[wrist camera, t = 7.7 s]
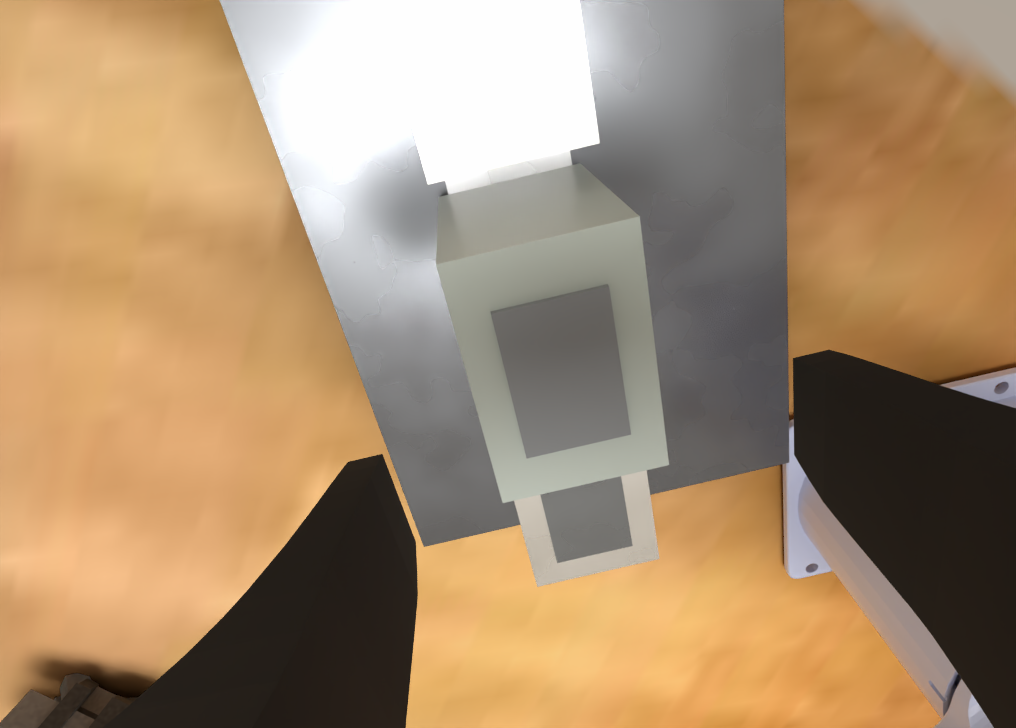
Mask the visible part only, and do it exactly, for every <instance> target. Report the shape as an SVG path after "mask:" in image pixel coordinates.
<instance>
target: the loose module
mask: <svg viewBox="0 0 1016 728" xmlns="http://www.w3.org/2000/svg"><path fill="white" fill-rule="evenodd" d="M436 267H437V270H438V274H439V277H440V281H441V284H442V288H443V292H444V295H445V299H446V302H447V306H448V309H449V313H450V317H451V320H452V324H453V327H454V331H455V334H456V338H457V342H458V345H459V349H460V352H461V356H462V360H463V363H464V367H465V370H466V374H467V377H468V381H469V385H470V388H471V392H472V395H473V399H474V402H475V406H476V410H477V413H478V417H479V420H480V424H481V427H482V431H483V435H484V438H485V442H486V445H487V449H488V452H489V456H490V460H491V463H492V467H493V470H494V474H495V477H496V481H497V485H498V488H499V492H500V495H501V499H502V502H503V503H506V502H510V501H515V500H519V499H523V498H528V497H532V496H536V495H541V494H545V493H549V492H554V491H558V490H563V489H567V488H571V487H576V486H580V485H584V484H589V483H593V482H597V481H602V480H606V479H611V478H615V477H619V476H624V475H628V474H632V473H637V472H641V471H646V470H650V469H654V468H659V467H663V466H667V465H669V460H668V452H667V443H666V435H665V426H664V418H663V409H662V401H661V392H660V384H659V375H658V367H657V358H656V350H655V342H654V333H653V325H652V316H651V308H650V299H649V291H648V282H647V274H646V265H645V257H644V249H643V240H642V232H641V223H640V216H639V215H638V214H636V213H635V212H634V211H633V210H632V209H631V208H630V207H629V206H628V205H626V204H625V203H624V202H623V201H622V200H621V199H620V198H619V197H617V196H616V195H615V194H614V193H613V192H612V191H611V190H610V189H608V188H607V187H606V186H605V185H604V184H603V183H602V182H601V181H600V180H598V179H597V178H596V177H595V176H594V175H593V174H592V173H591V172H589V171H588V170H587V169H586V168H585V167H584V166H583V165H582V164H580V163H579V164H575V165H571V166H566V167H562V168H558V169H554V170H550V171H545V172H541V173H537V174H533V175H529V176H524V177H520V178H516V179H512V180H508V181H503V182H499V183H495V184H491V185H487V186H482V187H478V188H474V189H470V190H466V191H461V192H457V193H453V194H449V195H445V196H441V197H439V200H438V225H437V250H436Z"/></svg>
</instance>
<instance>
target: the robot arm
mask: <svg viewBox="0 0 1016 728" xmlns="http://www.w3.org/2000/svg"><path fill="white" fill-rule="evenodd" d="M998 384H999V385H998ZM997 385H998V386H997ZM996 386H997V387H996ZM793 391H794V419H792V420H790V421H789V463H785V464H783V515H784V567H785V570H786V572H787V574H788V575H789V576H790V577H791V578H795V579H798V578H804V577H808V576H813V575H817V574H821V573H826V572H830V571H833V572H834V573H835V574H836V576H837V577H838V579H839V580H840V581H841V583H842V584H843V585H844V587H845V588H846V589H847V591H848V592H849V594H850V595H851V596H852V598H853V599H854V600H855V602H856V603H857V604H858V606H859V607H860V609H861V610H862V611H863V613H864V614H865V615H866V617H867V618H868V619H869V621H870V622H871V623H872V625H873V626H874V628H875V629H876V630H877V632H878V633H879V634H880V636H881V637H882V638H883V640H884V641H885V643H886V644H887V645H888V647H889V648H890V649H891V651H892V652H893V653H894V655H895V656H896V658H897V659H898V660H899V662H900V663H901V664H902V666H903V667H904V668H905V670H906V671H907V673H908V674H909V675H910V677H911V678H912V679H913V681H914V682H915V683H916V685H917V686H918V687H919V689H920V690H921V692H922V693H923V694H924V696H925V697H926V698H927V700H928V701H929V702H930V704H931V705H932V707H933V708H934V709H935V711H936V712H937V713H938V715H939V716H940V717H941V721H940V722H939V723H938V724H937V725H936V726H935V727H933V728H1016V367H1015V368H1010V369H1006V370H1002V371H997V372H993V373H989V374H985V375H980V376H976V377H972V378H967V379H963V380H959V381H954V382H950V383H946V384H941V385H938V384H935V383H932V382H929V381H926V380H923V379H920V378H917V377H914V376H911V375H908V374H905V373H902V372H899V371H896V370H893V369H890V368H887V367H884V366H881V365H878V364H875V363H872V362H869V361H866V360H863V359H860V358H857V357H853V356H850V355H847V354H843V353H839V352H835V351H831V350H826V351H822V352H818V353H814V354H809V355H805V356H801V357H796V358H793ZM809 564H810V565H809ZM417 596H418V591H417V560H416V542H415V539H414V536H413V534H412V531H411V528H410V526H409V523H408V521H407V518H406V515H405V513H404V510H403V507H402V505H401V502H400V499H399V497H398V494H397V492H396V489H395V486H394V484H393V481H392V478H391V476H390V473H389V471H388V468H387V465H386V463H385V460H384V457H383V455H382V454H380V455H376V456H372V457H368V458H363V459H359V460H355V461H350V462H348V463H347V464H346V465H345V467H344V468H343V469H342V470H341V472H340V473H339V474H338V476H337V477H336V478H335V480H334V481H333V482H332V484H331V485H330V486H329V488H328V489H327V490H326V492H325V493H324V495H323V496H322V497H321V499H320V500H319V501H318V503H317V504H316V505H315V507H314V508H313V509H312V511H311V512H310V513H309V515H308V516H307V517H306V519H305V520H304V521H303V523H302V524H301V525H300V527H299V528H298V529H297V531H296V532H295V533H294V535H293V536H292V537H291V539H290V540H289V541H288V542H287V544H286V545H285V546H284V547H283V549H282V550H281V551H280V552H279V553H278V555H277V556H276V557H275V558H274V559H273V561H272V562H271V563H270V564H269V565H268V567H267V568H266V569H265V570H264V571H263V573H262V574H261V575H260V576H259V577H258V579H257V580H256V581H255V582H254V583H253V585H252V586H251V587H250V588H249V589H248V591H247V592H246V593H245V594H244V595H243V596H242V597H241V598H240V599H239V601H238V602H237V603H236V604H235V605H234V606H233V607H232V608H231V609H230V610H229V611H228V612H227V614H226V615H225V616H224V617H223V618H222V619H221V620H220V621H219V622H218V623H217V624H216V625H215V626H214V627H213V628H212V629H211V630H210V631H209V632H208V633H207V634H206V635H205V636H204V637H203V638H202V639H201V640H200V641H199V642H198V643H197V644H196V645H195V646H194V647H193V648H192V649H191V650H190V651H189V652H188V653H187V654H186V655H185V656H184V657H183V658H181V659H180V660H179V661H178V662H177V663H176V664H175V665H174V666H173V667H171V668H170V669H169V670H168V671H167V672H166V673H165V674H164V675H163V676H161V677H160V678H159V679H158V680H157V681H156V682H155V683H154V684H152V685H151V686H150V687H149V688H148V689H147V690H146V691H145V692H144V693H142V694H141V695H140V696H139V697H138V698H137V699H136V700H135V701H134V702H132V703H131V704H130V705H129V706H128V707H127V708H126V709H124V710H123V711H122V712H121V713H120V714H118V715H117V716H116V717H115V718H114V719H112V720H111V721H110V722H109V723H107V724H106V725H105V726H104V727H103V728H406V715H407V705H408V694H409V684H410V673H411V663H412V653H413V642H414V631H415V620H416V609H417Z"/></svg>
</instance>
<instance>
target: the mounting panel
mask: <svg viewBox="0 0 1016 728" xmlns="http://www.w3.org/2000/svg"><path fill="white" fill-rule="evenodd" d="M220 2H221V5H222V8H223V10H224V13H225V16H226V18H227V21H228V24H229V26H230V29H231V32H232V34H233V37H234V40H235V42H236V45H237V48H238V50H239V53H240V56H241V59H242V61H243V64H244V67H245V69H246V72H247V75H248V77H249V80H250V83H251V85H252V88H253V91H254V93H255V96H256V99H257V101H258V104H259V107H260V109H261V112H262V115H263V117H264V120H265V123H266V125H267V128H268V131H269V133H270V136H271V139H272V141H273V144H274V147H275V149H276V152H277V155H278V158H279V160H280V163H281V166H282V168H283V171H284V174H285V176H286V179H287V182H288V184H289V187H290V190H291V192H292V195H293V198H294V200H295V203H296V206H297V208H298V211H299V214H300V216H301V219H302V222H303V224H304V227H305V230H306V232H307V235H308V238H309V240H310V243H311V246H312V248H313V251H314V254H315V256H316V259H317V262H318V265H319V267H320V270H321V273H322V275H323V278H324V281H325V283H326V286H327V289H328V291H329V294H330V297H331V299H332V302H333V305H334V307H335V310H336V313H337V315H338V318H339V321H340V323H341V326H342V329H343V331H344V334H345V337H346V339H347V342H348V345H349V347H350V350H351V353H352V355H353V358H354V361H355V363H356V366H357V369H358V372H359V374H360V377H361V380H362V382H363V385H364V388H365V390H366V393H367V396H368V398H369V401H370V404H371V406H372V409H373V412H374V414H375V417H376V420H377V422H378V425H379V428H380V430H381V433H382V436H383V438H384V441H385V444H386V446H387V449H388V452H389V454H390V457H391V460H392V462H393V465H394V468H395V471H396V473H397V476H398V479H399V481H400V484H401V487H402V489H403V492H404V495H405V497H406V500H407V503H408V505H409V508H410V511H411V513H412V516H413V519H414V521H415V524H416V527H417V529H418V532H419V535H420V537H421V540H422V543H423V545H424V547H425V546H430V545H434V544H438V543H443V542H447V541H451V540H456V539H460V538H464V537H469V536H473V535H477V534H482V533H486V532H490V531H495V530H499V529H503V528H508V527H512V526H516V525H521V528H522V532H523V536H524V539H525V543H526V547H527V550H528V554H529V558H530V561H531V565H532V569H533V572H534V576H535V580H536V583H537V587H538V586H543V585H547V584H551V583H556V582H560V581H564V580H569V579H573V578H578V577H582V576H586V575H591V574H595V573H599V572H604V571H608V570H613V569H617V568H621V567H626V566H630V565H634V564H639V563H643V562H648V561H652V560H656V559H659V553H658V546H657V539H656V532H655V525H654V518H653V511H652V504H651V497H650V495H651V494H655V493H659V492H664V491H668V490H672V489H677V488H681V487H685V486H690V485H694V484H698V483H703V482H707V481H711V480H716V479H720V478H724V477H729V476H733V475H737V474H742V473H746V472H750V471H755V470H759V469H763V468H768V467H772V466H776V465H781V464H785V463H789V390H788V307H787V224H786V140H785V57H784V0H220ZM579 163H580V164H582V165H583V166H584V167H585V168H586V169H587V170H588V171H589V172H591V173H592V174H593V175H594V176H595V177H596V178H597V179H598V180H600V181H601V182H602V183H603V184H604V185H605V186H606V187H607V188H608V189H610V190H611V191H612V192H613V193H614V194H615V195H616V196H617V197H619V198H620V199H621V200H622V201H623V202H624V203H625V204H626V205H628V206H629V207H630V208H631V209H632V210H633V211H634V212H635V213H636V214H638V215H639V216H640V223H641V232H642V240H643V249H644V257H645V265H646V274H647V282H648V291H649V299H650V308H651V316H652V325H653V333H654V342H655V350H656V358H657V367H658V375H659V384H660V392H661V401H662V409H663V418H664V426H665V435H666V443H667V452H668V460H669V465H667V466H663V467H659V468H654V469H650V470H646V471H641V472H637V473H632V474H628V475H624V476H619V477H615V478H611V479H606V480H602V481H597V482H593V483H589V484H584V485H580V486H576V487H571V488H567V489H563V490H558V491H554V492H549V493H545V494H541V495H536V496H532V497H528V498H523V499H519V500H515V501H510V502H506V503H503V502H502V499H501V495H500V492H499V488H498V485H497V481H496V477H495V474H494V470H493V467H492V463H491V460H490V456H489V452H488V449H487V445H486V442H485V438H484V435H483V431H482V427H481V424H480V420H479V417H478V413H477V410H476V406H475V402H474V399H473V395H472V392H471V388H470V385H469V381H468V377H467V374H466V370H465V367H464V363H463V360H462V356H461V352H460V349H459V345H458V342H457V338H456V334H455V331H454V327H453V324H452V320H451V317H450V313H449V309H448V306H447V302H446V299H445V295H444V292H443V288H442V284H441V281H440V277H439V274H438V270H437V267H436V250H437V225H438V200H439V197H441V196H445V195H449V194H453V193H457V192H461V191H466V190H470V189H474V188H478V187H482V186H487V185H491V184H495V183H499V182H503V181H508V180H512V179H516V178H520V177H524V176H529V175H533V174H537V173H541V172H545V171H550V170H554V169H558V168H562V167H566V166H571V165H575V164H579Z"/></svg>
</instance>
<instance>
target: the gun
mask: <svg viewBox="0 0 1016 728" xmlns="http://www.w3.org/2000/svg"><path fill="white" fill-rule="evenodd" d="M98 685H99V684H98V683H96V682H94V681H92V680H91V678H90V676H87V675H83V674H79V673H75V674H70V675H66V676H65V678H64V680H63V682H62V684H61V686H60V693H61V696H58V697H55V699H54V700H53V699H51V698H49V697H46V696H44V695H42V694H40V693H38V692H36V691H34V690H32V689H31V690H30V691H29V692H28V693H27V694H26V695H25V696H24V698H23V699H22V700H21V701H20V702H19V703H18V704H17V705H16V706H15V707H14V708H13V709H12V710H11V711H10V713H9V714H8V715H7V716H6V717H5V718H4V719H3V720H2V721H1V722H0V728H103V727H104V726H105V725H106V724H107V723H109V722H110V721H111V720H112V719H114V718H115V717H116V716H117V715H118V714H120V713H121V712H122V711H123V710H124V709H126V708H127V707H128V706H129V705H130V704H131V703H132V702H134V701H135V700H136V699H137V697H134V698H133V697H131V698H127V699H126V698H123V697H121V696H119V695H115V694H113V693H111V692H108V691H106V690H104V689H102V688H100V687H98Z"/></svg>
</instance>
